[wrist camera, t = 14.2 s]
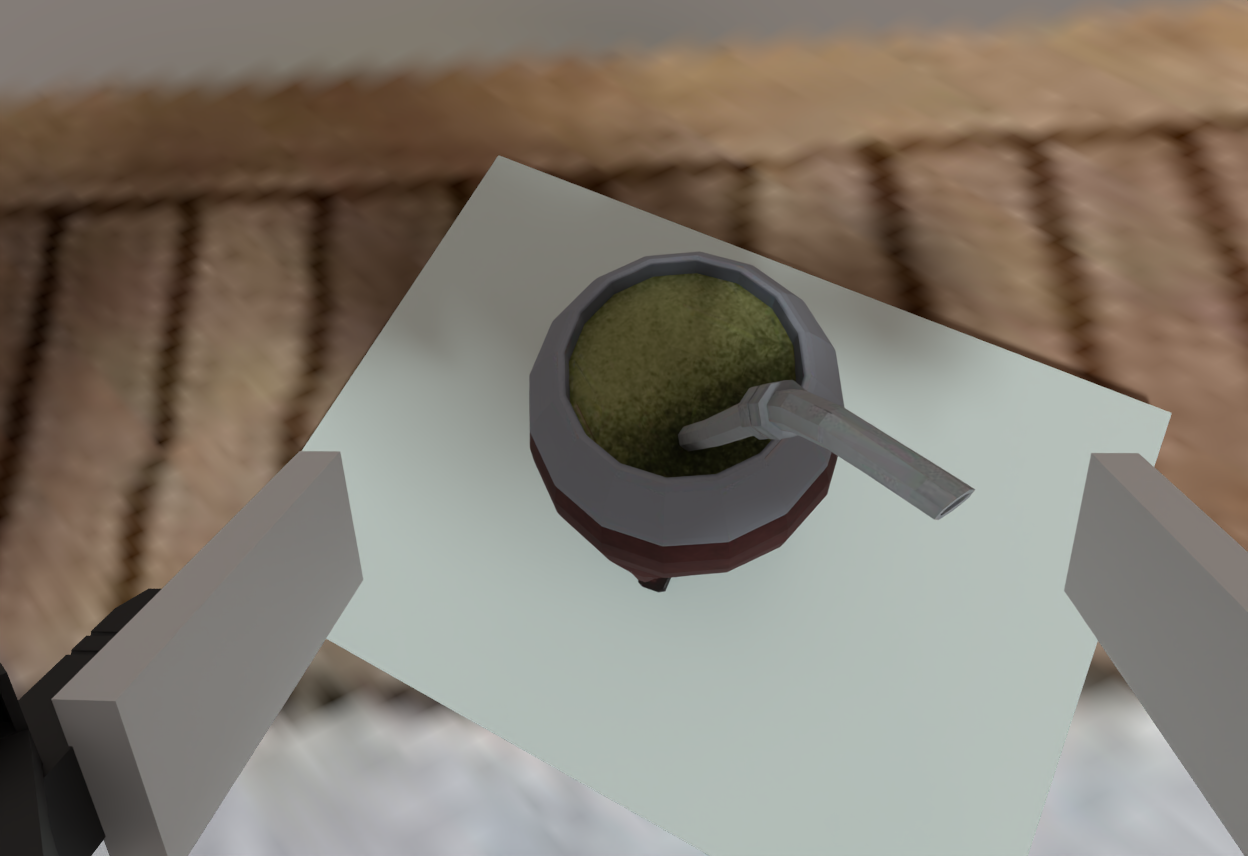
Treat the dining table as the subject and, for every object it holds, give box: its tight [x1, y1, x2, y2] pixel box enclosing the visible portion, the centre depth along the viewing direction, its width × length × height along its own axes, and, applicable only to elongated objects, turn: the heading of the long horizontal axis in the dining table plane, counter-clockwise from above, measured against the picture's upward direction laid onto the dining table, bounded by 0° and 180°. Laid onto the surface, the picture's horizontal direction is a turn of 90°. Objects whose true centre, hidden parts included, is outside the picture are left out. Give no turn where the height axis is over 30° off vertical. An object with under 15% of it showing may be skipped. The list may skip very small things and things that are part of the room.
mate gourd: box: [529, 251, 976, 592], centre depth 17 cm, size 8×8×15 cm
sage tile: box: [302, 155, 1171, 856], centre depth 25 cm, size 22×16×1 cm
